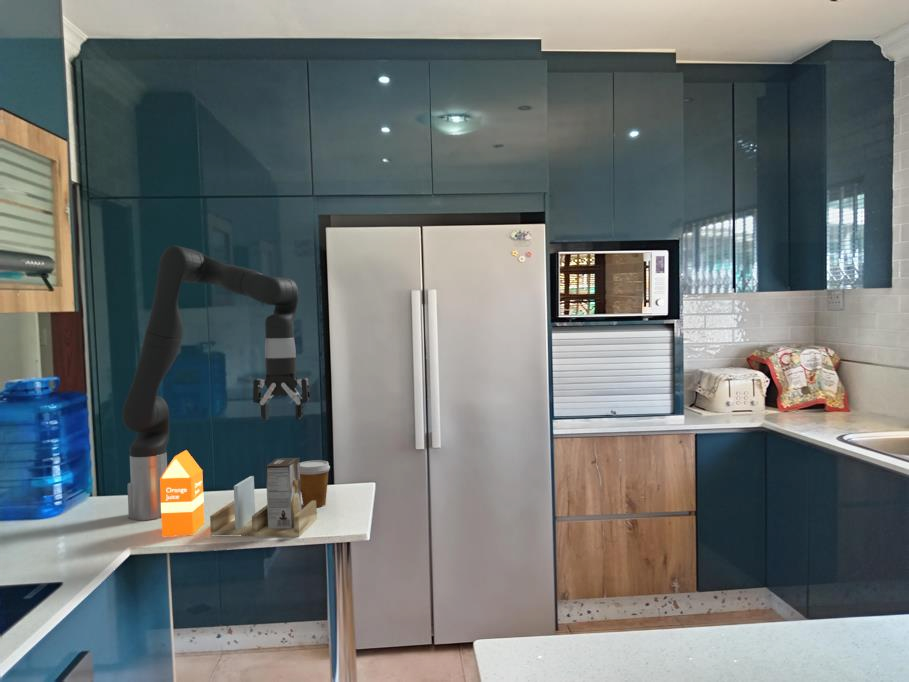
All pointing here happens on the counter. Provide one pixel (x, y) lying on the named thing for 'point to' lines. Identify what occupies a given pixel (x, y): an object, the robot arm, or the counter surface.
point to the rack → (260, 522)
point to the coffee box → (283, 492)
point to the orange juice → (182, 496)
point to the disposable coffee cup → (314, 481)
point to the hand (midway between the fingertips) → (282, 419)
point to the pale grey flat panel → (244, 502)
